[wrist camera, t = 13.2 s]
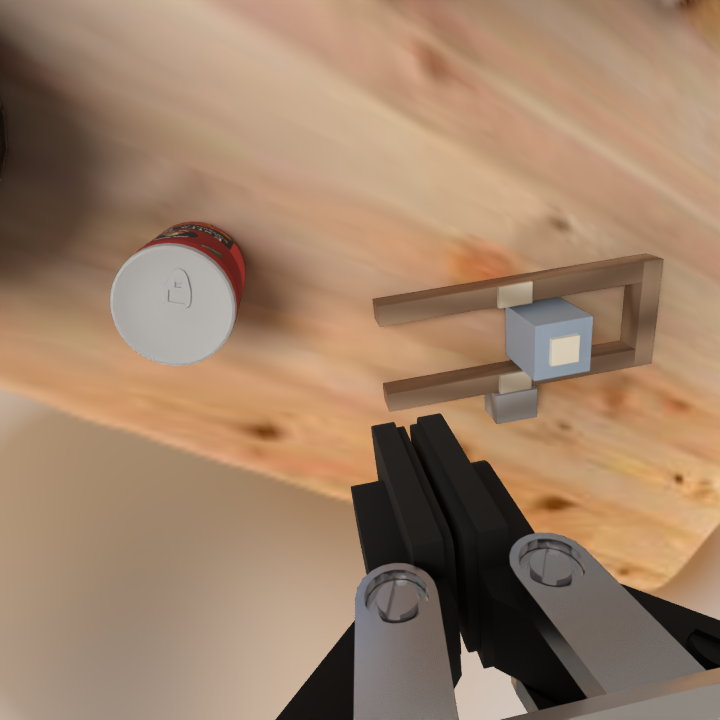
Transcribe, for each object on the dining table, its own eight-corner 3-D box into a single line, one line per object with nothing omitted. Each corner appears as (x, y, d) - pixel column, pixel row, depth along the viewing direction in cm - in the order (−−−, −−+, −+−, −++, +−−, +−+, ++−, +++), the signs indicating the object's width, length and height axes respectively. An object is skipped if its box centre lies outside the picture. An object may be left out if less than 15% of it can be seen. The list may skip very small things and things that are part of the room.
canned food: (239, 216, 41) (226, 239, 31) (252, 311, 44) (244, 361, 34) (139, 223, 40) (93, 250, 30) (160, 320, 43) (125, 373, 33)
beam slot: (372, 298, 45) (378, 308, 42) (645, 253, 47) (668, 259, 44) (388, 427, 50) (394, 443, 48) (632, 381, 53) (652, 394, 50)
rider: (505, 305, 47) (537, 327, 41) (556, 296, 47) (595, 317, 42) (505, 354, 49) (536, 383, 43) (555, 345, 49) (592, 372, 44)
